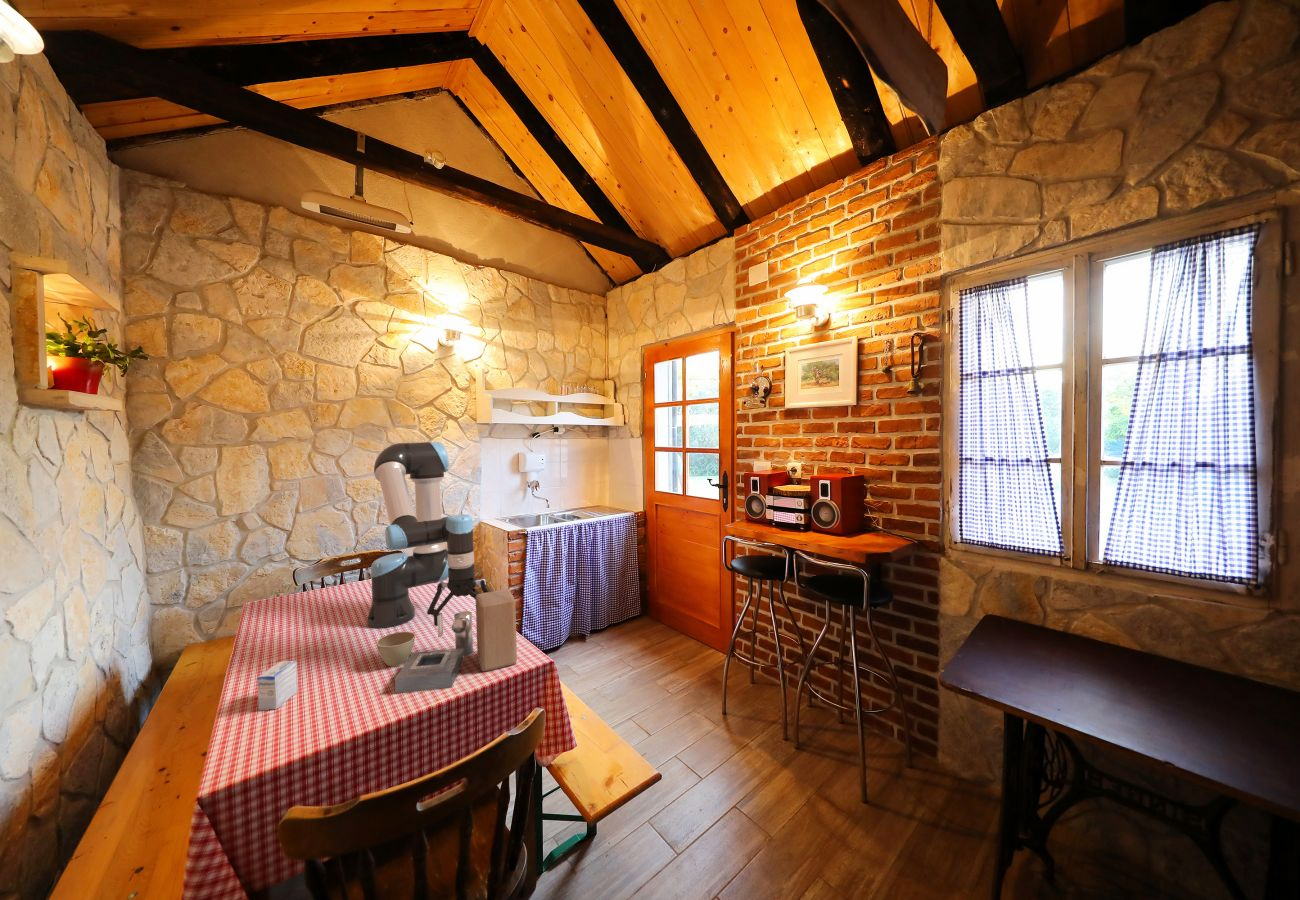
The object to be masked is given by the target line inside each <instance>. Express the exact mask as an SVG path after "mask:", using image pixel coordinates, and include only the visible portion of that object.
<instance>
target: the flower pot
mask: <svg viewBox="0 0 1300 900" xmlns="http://www.w3.org/2000/svg"><path fill="white" fill-rule="evenodd" d="M415 639H416V634H415V633H413V632H410V631H400V632H399V631H397V632H394V633H390V634H387V635H384V636H382V637H380V638H379V639H378V640H377V641H376V647H377V648H376V649H377V650H378V653H379V655H380V657H381V659H382V661H383V662H384V663H385V664H386V665H387V667H398V666H401V665H403V664H404V663H406V662H407V661H408V659H409V658H410V656H411V653H412V651H413V648H414V644H415Z"/></svg>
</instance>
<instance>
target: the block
mask: <svg viewBox="0 0 1300 900" xmlns="http://www.w3.org/2000/svg"><path fill="white" fill-rule="evenodd" d="M516 615H517V614H516V600H515V598H514V595H513V594H512V593H511V590H510V589H507V588H506V589H505V588H504V589H499V590H494V591H493V590H492V591H490V592H486V593H483V592H482V593H479V594H478V595H476V600H475V617H476V619H475V622H476V646H477V647H476V650H477V653H476V654H477V660H478V663H479V666H480V670H481V671H482V672H489V671H492V670H496V669H501V668H504V667H505V668H506V667H509V666H512V665H515V664H517V661H518V649H517V619H516V617H517V616H516Z"/></svg>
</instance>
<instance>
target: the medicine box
mask: <svg viewBox="0 0 1300 900" xmlns="http://www.w3.org/2000/svg"><path fill="white" fill-rule="evenodd" d="M297 664H298V663H297V661H296V660H286V661H278V662H276V664H274V665H273V666H271V667H269V668H268V669H267V670H266V671H264V672H263V673H261V674H260V675H259V676H258V677H257V679H256V680H257V683H256V684H257V697H258V700H257V701H258V702H257V703H258V710H259V711H270V710H269V709H275V710H278V709H279V708H280V707H282V705H284V704H285V703H286V702H287V701H289V699H291V698H292V696H294V695H295V694H296V693H298V691H299V686H298V665H297ZM277 708H278V709H277Z"/></svg>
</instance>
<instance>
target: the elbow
mask: <svg viewBox="0 0 1300 900" xmlns="http://www.w3.org/2000/svg"><path fill="white" fill-rule="evenodd" d="M472 613H473V612H472V611H467V610H465V611H459V612H457V613H455V614H454V615H453V616H454V617H453V618H454V620H453V621H454V622H453V623H452V625H451V630H452V632H454V642H455V648H454V649H461V648H463V657H465V656H468V655H471V654H472V653H473V652H474V645H473V644H474V642H473V641H474V640H473V614H472Z"/></svg>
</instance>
